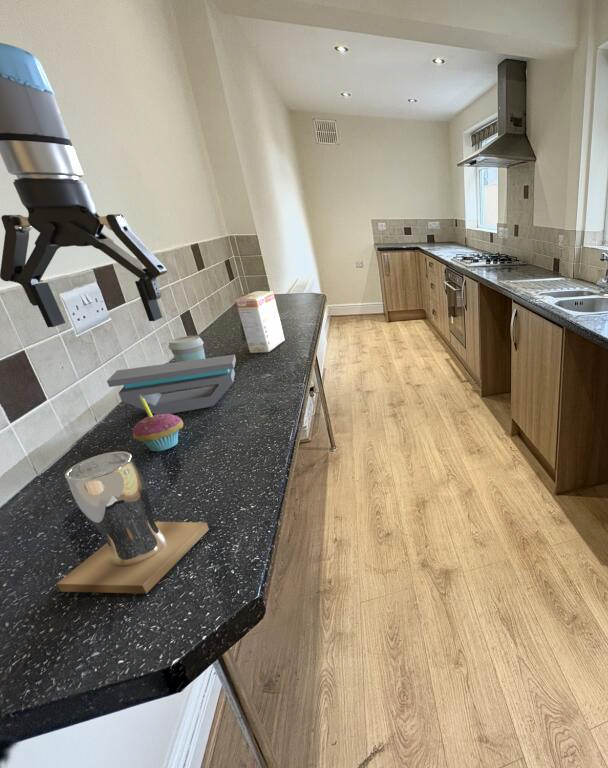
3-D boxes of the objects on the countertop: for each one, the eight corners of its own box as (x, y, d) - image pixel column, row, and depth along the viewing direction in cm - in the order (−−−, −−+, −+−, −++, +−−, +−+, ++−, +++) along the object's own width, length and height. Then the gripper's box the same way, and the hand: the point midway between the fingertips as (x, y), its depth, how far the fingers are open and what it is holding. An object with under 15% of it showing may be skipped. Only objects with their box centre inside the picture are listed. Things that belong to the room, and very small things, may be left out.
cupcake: (130, 451, 88) (108, 401, 83) (173, 432, 95) (155, 385, 90) (156, 459, 85) (135, 407, 80) (198, 439, 92) (181, 391, 87)
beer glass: (166, 525, 65) (131, 445, 59) (172, 549, 60) (135, 464, 54) (107, 549, 60) (62, 464, 55) (109, 577, 56) (61, 487, 50)
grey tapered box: (244, 390, 117) (234, 354, 113) (243, 400, 111) (232, 363, 107) (133, 409, 106) (116, 370, 102) (124, 421, 100) (106, 381, 96)
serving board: (60, 591, 56) (55, 583, 55) (137, 528, 67) (133, 521, 66) (146, 593, 55) (142, 585, 55) (209, 529, 66) (206, 522, 66)
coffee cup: (217, 369, 132) (205, 334, 127) (208, 379, 125) (196, 341, 120) (185, 373, 130) (173, 336, 125) (175, 383, 122) (161, 344, 118)
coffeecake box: (266, 340, 161) (254, 291, 153) (285, 340, 162) (274, 290, 154) (248, 353, 148) (234, 299, 140) (269, 352, 148) (256, 298, 141)
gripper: (163, 181, 65) (203, 312, 74) (-38, 179, 59) (31, 321, 68) (137, 178, 59) (184, 322, 67) (-92, 175, 53) (-9, 334, 61)
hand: (107, 322), depth 67 cm, fingers open, 13 cm apart
